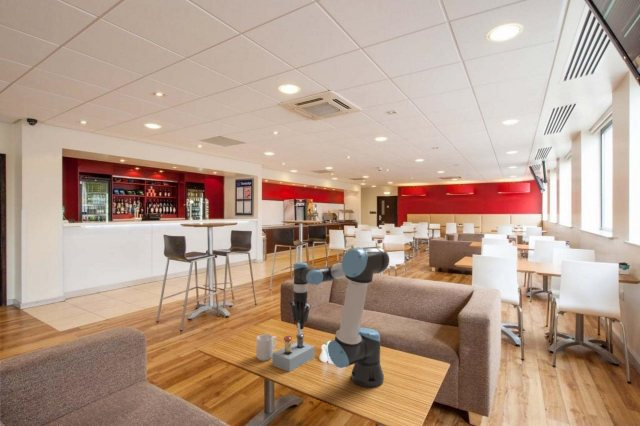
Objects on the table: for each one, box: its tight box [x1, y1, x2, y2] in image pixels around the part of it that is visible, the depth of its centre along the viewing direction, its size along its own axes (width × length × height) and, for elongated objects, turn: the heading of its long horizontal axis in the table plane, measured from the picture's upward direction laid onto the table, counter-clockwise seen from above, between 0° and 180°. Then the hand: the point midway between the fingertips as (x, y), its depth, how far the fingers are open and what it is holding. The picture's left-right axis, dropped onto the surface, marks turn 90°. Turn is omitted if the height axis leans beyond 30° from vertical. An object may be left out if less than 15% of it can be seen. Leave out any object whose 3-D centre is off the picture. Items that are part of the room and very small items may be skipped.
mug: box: [256, 333, 278, 362], centre depth 174 cm, size 12×9×11 cm
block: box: [271, 341, 315, 372], centre depth 169 cm, size 12×20×6 cm, turn 144°
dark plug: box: [296, 334, 305, 349], centre depth 173 cm, size 4×4×9 cm
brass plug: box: [283, 335, 292, 355], centre depth 165 cm, size 4×4×9 cm
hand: (300, 334), depth 173 cm, fingers closed
